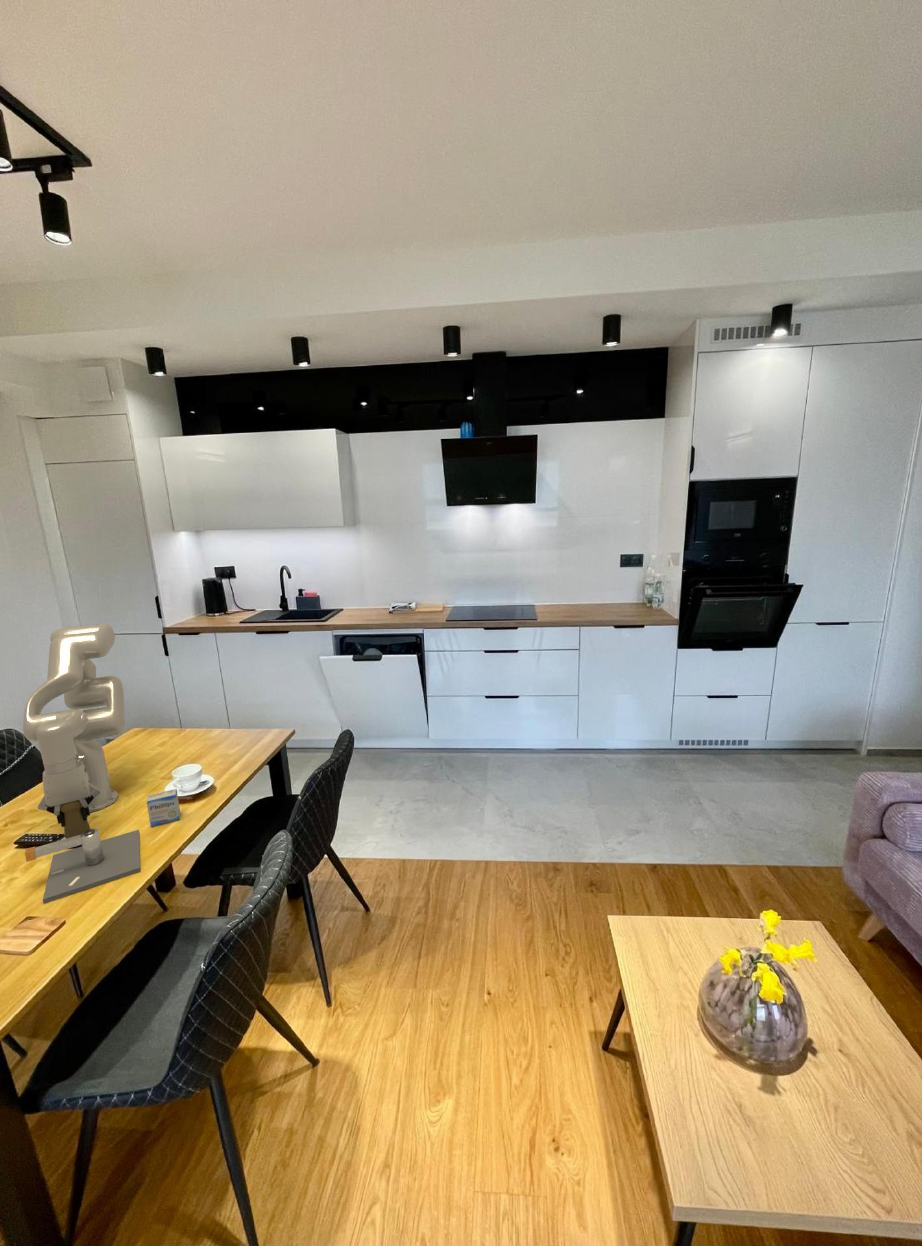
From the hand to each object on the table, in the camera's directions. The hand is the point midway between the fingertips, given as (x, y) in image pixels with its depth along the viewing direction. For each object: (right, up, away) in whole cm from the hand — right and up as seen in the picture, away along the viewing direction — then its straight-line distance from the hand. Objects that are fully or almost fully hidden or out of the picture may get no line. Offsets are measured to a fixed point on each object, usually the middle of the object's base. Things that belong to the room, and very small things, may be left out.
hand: (74, 820), depth 147 cm
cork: (0, -4, +1) cm, 4 cm away
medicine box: (+20, -4, +10) cm, 23 cm away
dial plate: (+13, -8, -10) cm, 18 cm away
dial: (+8, -7, -13) cm, 17 cm away
